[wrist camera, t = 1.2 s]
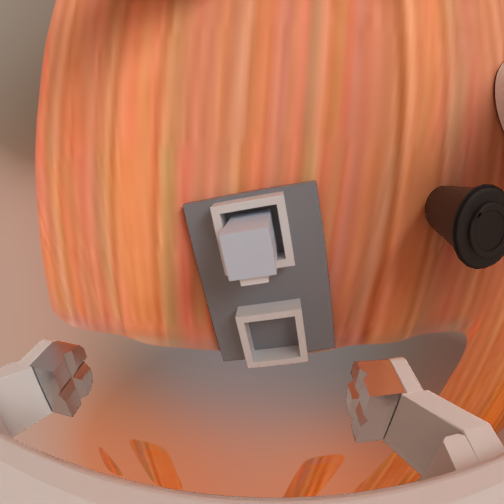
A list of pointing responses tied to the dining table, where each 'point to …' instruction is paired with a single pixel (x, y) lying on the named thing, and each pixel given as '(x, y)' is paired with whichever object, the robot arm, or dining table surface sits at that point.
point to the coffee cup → (470, 222)
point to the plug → (250, 247)
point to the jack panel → (279, 286)
